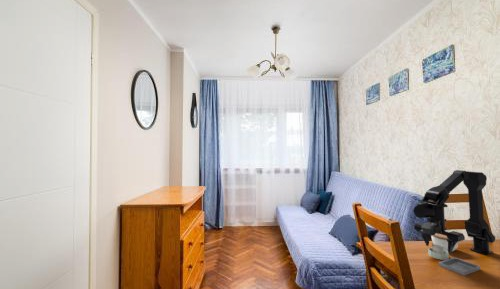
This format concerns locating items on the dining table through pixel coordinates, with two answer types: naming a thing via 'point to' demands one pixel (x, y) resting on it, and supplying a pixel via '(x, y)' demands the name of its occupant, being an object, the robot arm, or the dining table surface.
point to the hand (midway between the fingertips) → (438, 249)
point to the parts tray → (459, 266)
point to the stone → (438, 249)
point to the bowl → (438, 254)
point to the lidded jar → (442, 241)
